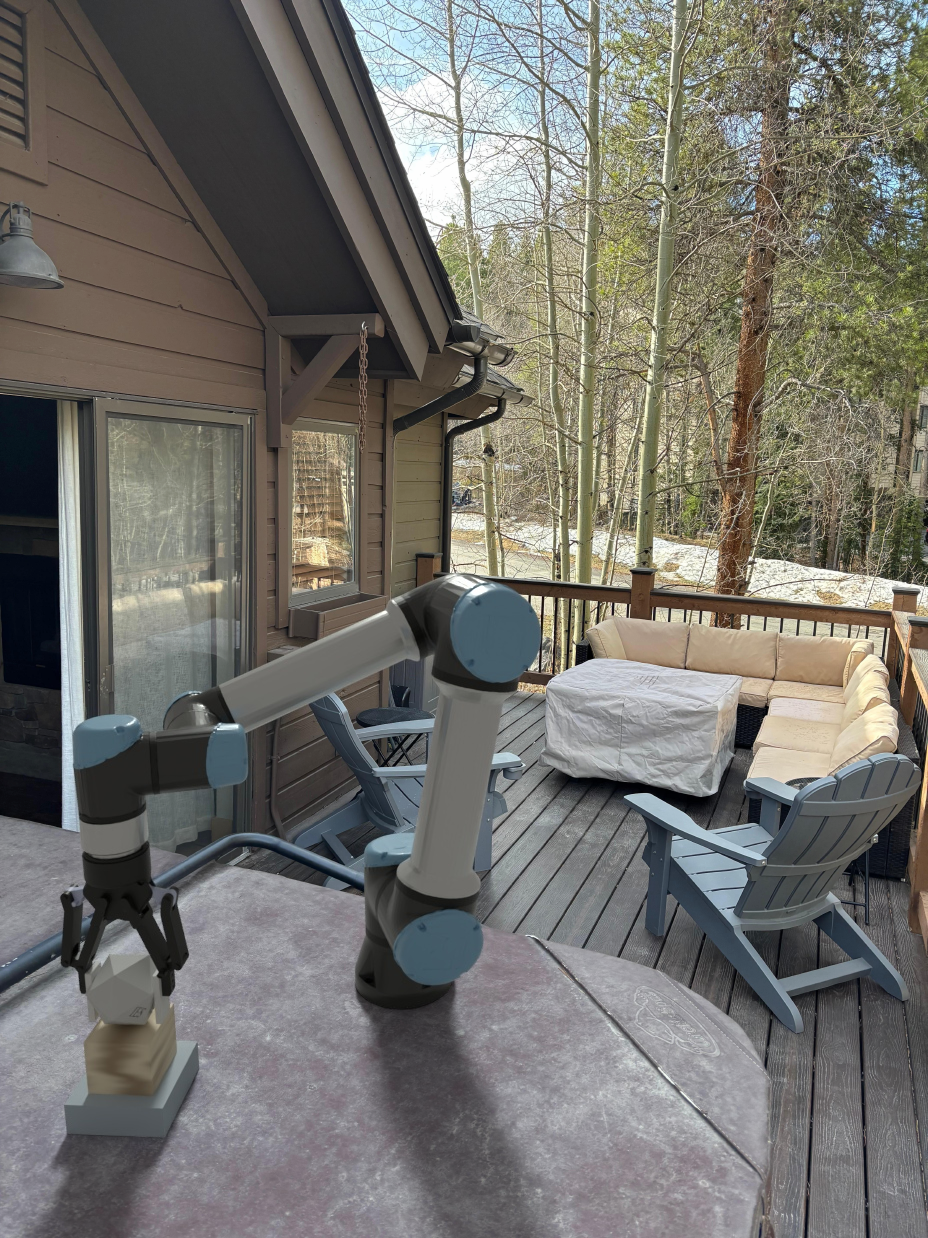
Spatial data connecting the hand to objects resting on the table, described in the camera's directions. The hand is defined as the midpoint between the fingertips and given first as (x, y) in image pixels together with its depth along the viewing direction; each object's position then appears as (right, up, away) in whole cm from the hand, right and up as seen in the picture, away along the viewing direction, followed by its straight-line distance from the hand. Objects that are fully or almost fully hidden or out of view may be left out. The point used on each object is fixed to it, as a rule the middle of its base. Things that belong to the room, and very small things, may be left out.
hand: (130, 1016), depth 108 cm
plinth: (0, -12, +2) cm, 12 cm away
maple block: (0, -8, +1) cm, 8 cm away
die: (0, 0, 0) cm, 1 cm away
